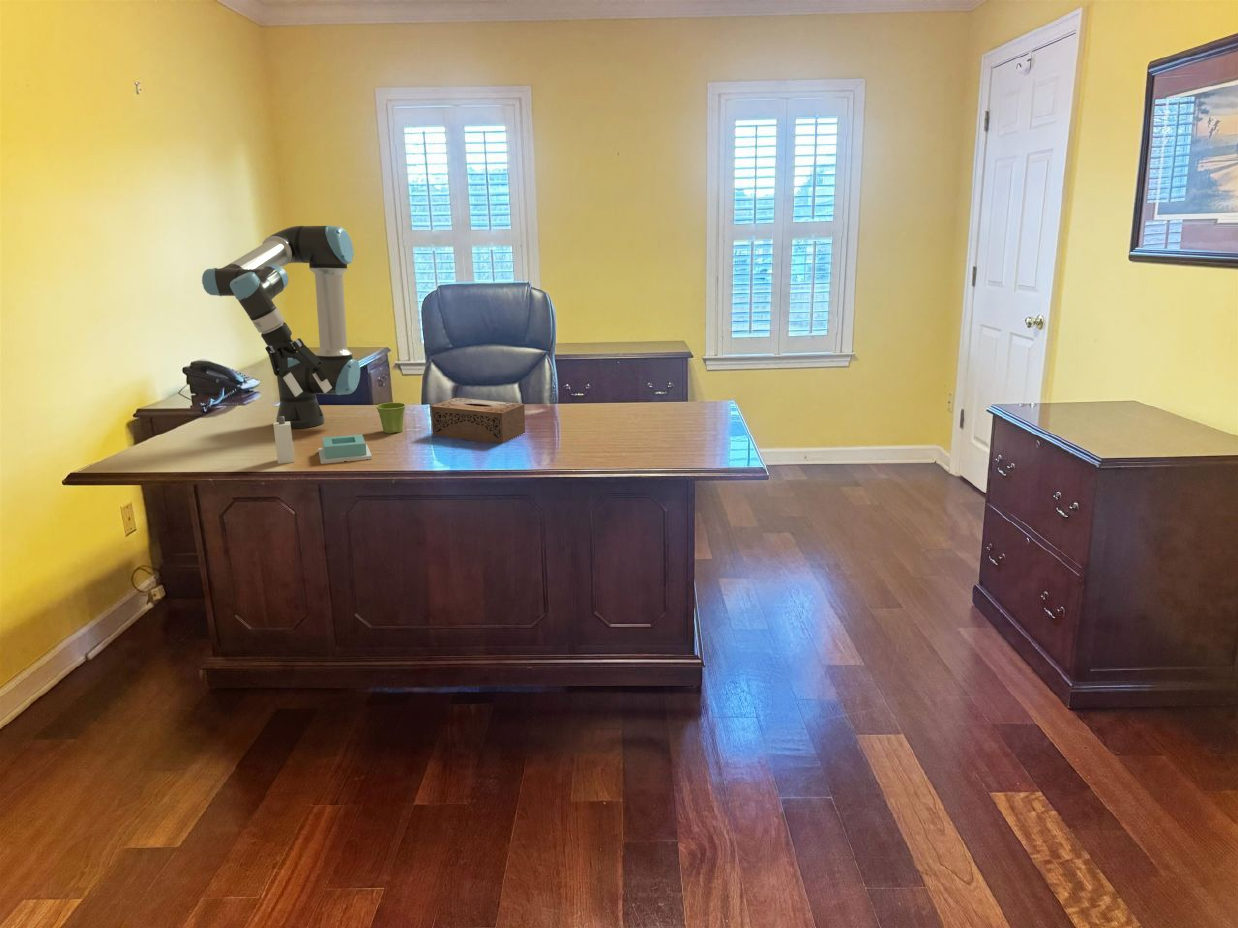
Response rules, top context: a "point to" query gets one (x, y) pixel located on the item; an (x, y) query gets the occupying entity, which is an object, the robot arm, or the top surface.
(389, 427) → the plant pot
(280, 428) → the plug
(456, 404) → the tissue box cover
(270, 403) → the top surface
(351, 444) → the socket
